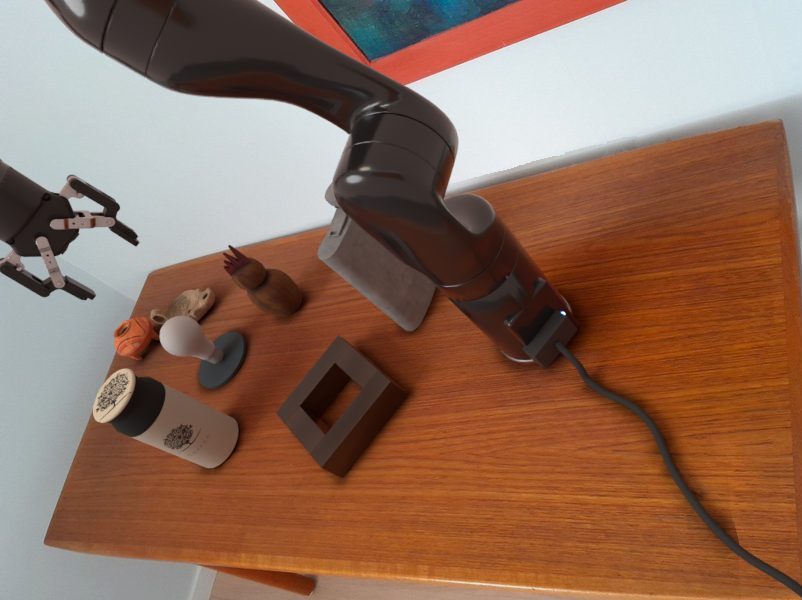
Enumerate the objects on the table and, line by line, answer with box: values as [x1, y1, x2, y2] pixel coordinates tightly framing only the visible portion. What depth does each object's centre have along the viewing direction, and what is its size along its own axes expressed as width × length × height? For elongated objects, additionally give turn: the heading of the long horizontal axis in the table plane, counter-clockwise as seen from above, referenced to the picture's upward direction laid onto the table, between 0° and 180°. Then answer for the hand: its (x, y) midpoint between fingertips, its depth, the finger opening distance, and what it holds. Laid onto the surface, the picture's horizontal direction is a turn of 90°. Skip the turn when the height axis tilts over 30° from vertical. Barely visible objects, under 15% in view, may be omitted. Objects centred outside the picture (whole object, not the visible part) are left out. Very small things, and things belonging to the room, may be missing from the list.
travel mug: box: [92, 367, 239, 469], centre depth 91 cm, size 8×8×18 cm
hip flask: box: [317, 182, 437, 332], centre depth 83 cm, size 16×4×20 cm, turn 164°
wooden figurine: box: [222, 244, 303, 317], centre depth 99 cm, size 7×6×15 cm
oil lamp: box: [150, 287, 216, 325], centre depth 116 cm, size 13×8×5 cm, turn 92°
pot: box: [113, 316, 160, 361], centre depth 119 cm, size 8×8×7 cm
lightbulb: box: [159, 316, 224, 364], centre depth 102 cm, size 6×6×11 cm
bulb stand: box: [275, 334, 410, 479], centre depth 85 cm, size 13×13×4 cm
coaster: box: [198, 331, 248, 390], centre depth 107 cm, size 10×10×1 cm
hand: (115, 268), depth 84 cm, fingers open, 8 cm apart
